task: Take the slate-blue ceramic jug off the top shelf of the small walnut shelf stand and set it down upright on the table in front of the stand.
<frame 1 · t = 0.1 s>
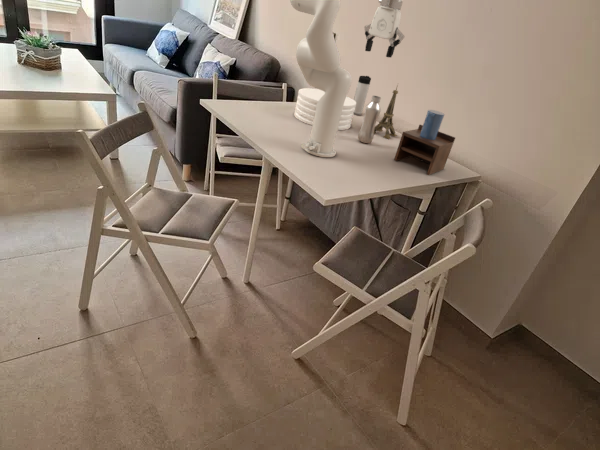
hand: (378, 54, 162), 37 cm above the table, tool pointing down, fingers open, 9 cm apart
plate stack: (322, 120, 204), on the table
eiffel tower: (382, 134, 204), on the table
shelf stand: (418, 164, 172), on the table
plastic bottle: (363, 142, 185), on the table
travel mug: (355, 114, 230), on the table
jug: (427, 137, 166), point 12 cm above the table, touching shelf stand
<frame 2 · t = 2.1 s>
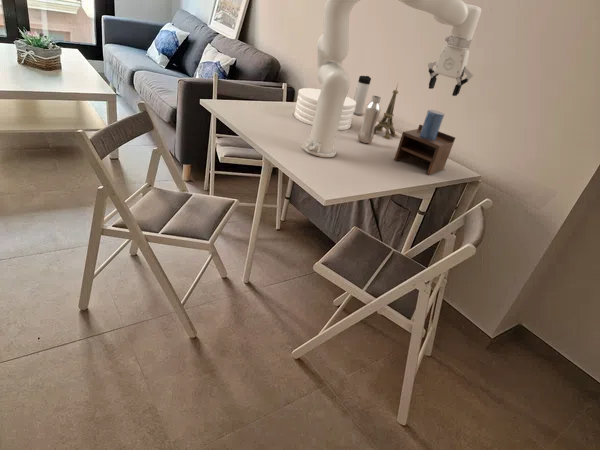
hand: (442, 92, 158), 30 cm above the table, tool pointing down, fingers open, 9 cm apart
nothing on the table moved.
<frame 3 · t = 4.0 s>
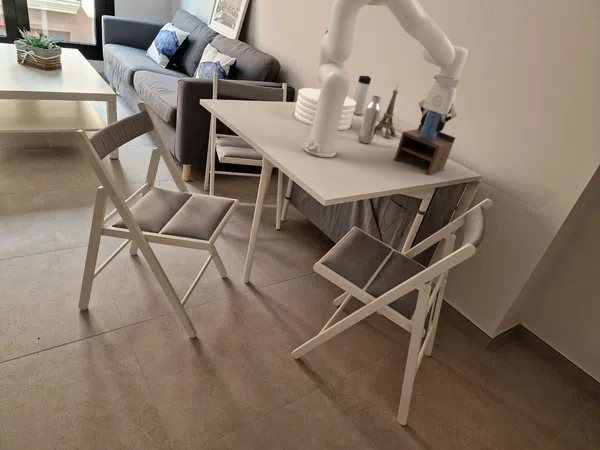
hand: (430, 128, 164), 16 cm above the table, tool pointing down, fingers closed on jug, 6 cm apart
jug: (427, 137, 166), point 12 cm above the table, touching gripper, shelf stand
everything else where it was.
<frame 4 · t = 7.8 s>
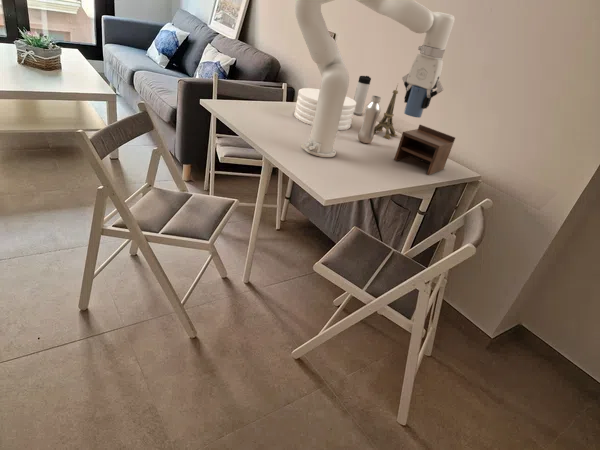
hand: (415, 104, 151), 25 cm above the table, tool pointing down, fingers closed on jug, 6 cm apart
jug: (412, 114, 153), point 21 cm above the table, touching gripper
everything else where it was.
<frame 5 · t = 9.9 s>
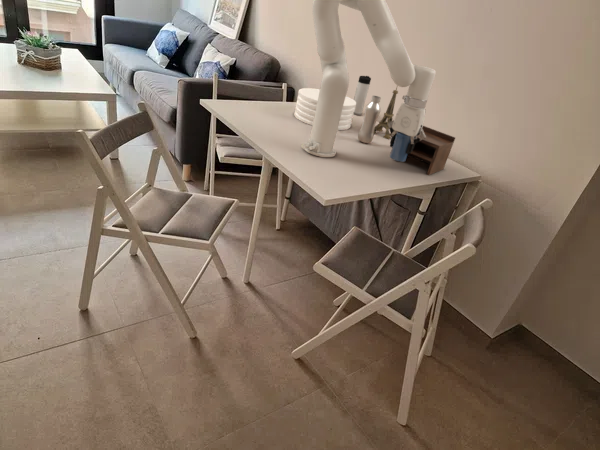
hand: (400, 149, 159), 8 cm above the table, tool pointing down, fingers closed on jug, 6 cm apart
jug: (397, 158, 161), point 4 cm above the table, touching gripper
everything else where it was.
when the fingers open (4 cm above the table, at t = 11.6 s): jug stays where it is, on the table.
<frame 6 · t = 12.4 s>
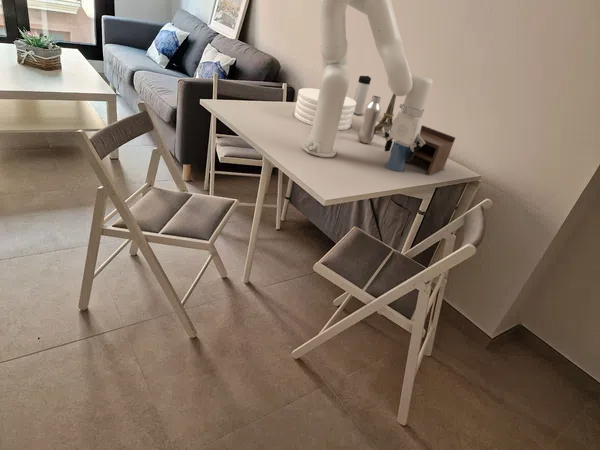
hand: (397, 155, 160), 5 cm above the table, tool pointing down, fingers open, 9 cm apart
jug: (394, 167, 163), on the table
everything else where it was.
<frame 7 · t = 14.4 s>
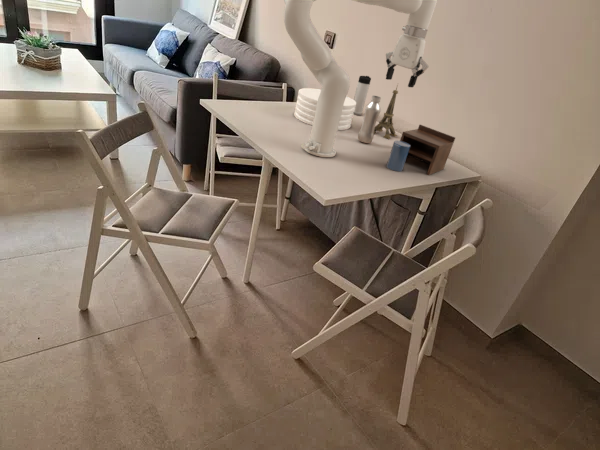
hand: (399, 83, 154), 30 cm above the table, tool pointing down, fingers open, 9 cm apart
nothing on the table moved.
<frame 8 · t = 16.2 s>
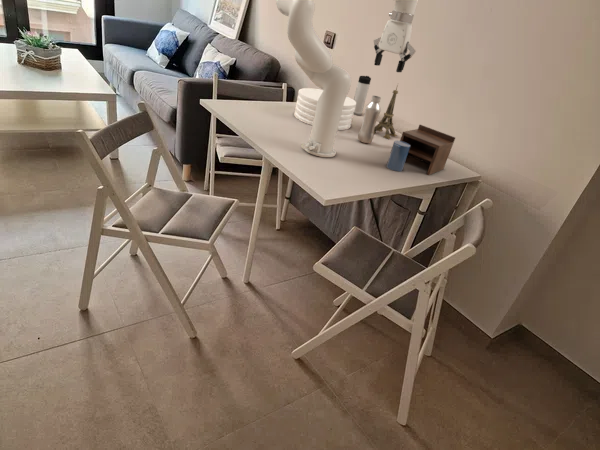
hand: (387, 68, 157), 33 cm above the table, tool pointing down, fingers open, 9 cm apart
nothing on the table moved.
at the end: jug inside the target area (0.1 cm from its centre), on the table; jug tilted 0°; the gripper is holding nothing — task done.
